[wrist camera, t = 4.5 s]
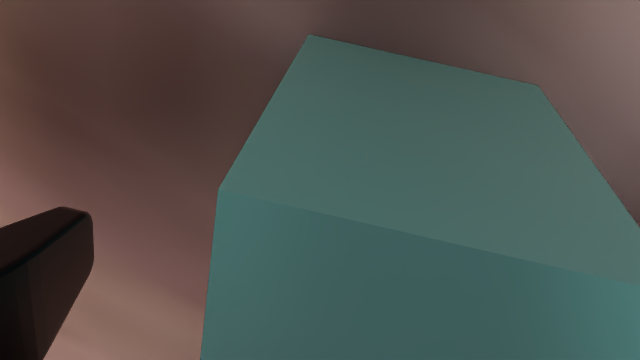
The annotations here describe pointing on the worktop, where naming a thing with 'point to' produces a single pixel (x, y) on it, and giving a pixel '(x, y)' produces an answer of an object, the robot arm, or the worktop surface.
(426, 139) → the teal block
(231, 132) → the worktop surface
